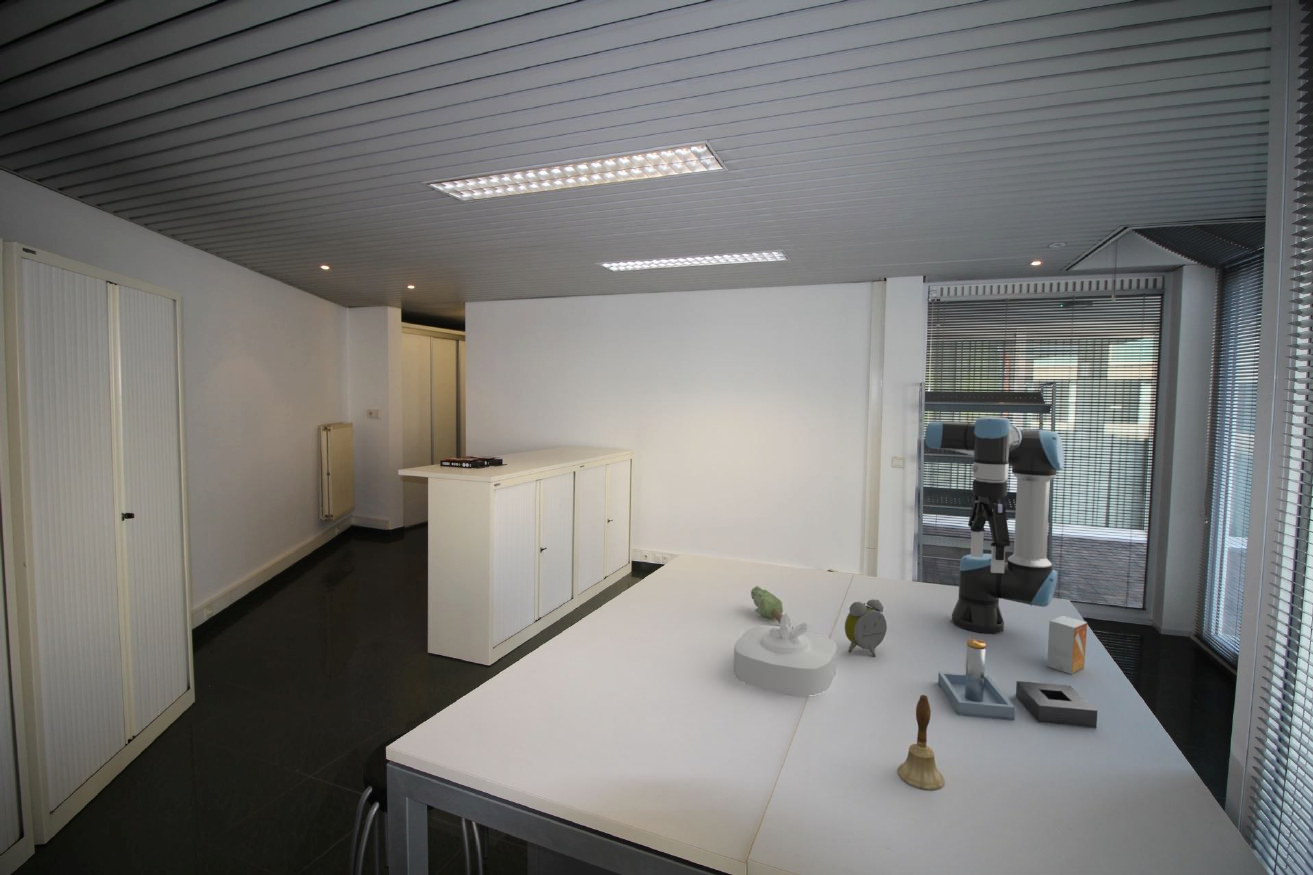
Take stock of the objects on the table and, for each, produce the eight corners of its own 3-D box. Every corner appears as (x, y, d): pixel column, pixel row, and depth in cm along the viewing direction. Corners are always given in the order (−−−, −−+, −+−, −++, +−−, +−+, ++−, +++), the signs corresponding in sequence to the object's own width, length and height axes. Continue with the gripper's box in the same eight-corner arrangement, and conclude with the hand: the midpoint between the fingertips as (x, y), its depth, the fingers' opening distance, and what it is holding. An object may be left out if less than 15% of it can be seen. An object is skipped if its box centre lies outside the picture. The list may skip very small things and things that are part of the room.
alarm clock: (873, 645, 178) (875, 595, 177) (890, 654, 172) (892, 603, 171) (842, 650, 174) (844, 600, 173) (858, 660, 167) (860, 608, 166)
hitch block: (1015, 696, 148) (1016, 680, 148) (1068, 701, 146) (1069, 685, 146) (1038, 722, 136) (1039, 705, 136) (1096, 727, 134) (1097, 710, 134)
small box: (1071, 675, 160) (1074, 627, 159) (1046, 666, 165) (1048, 620, 165) (1085, 667, 165) (1087, 621, 164) (1059, 659, 170) (1062, 614, 169)
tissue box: (840, 663, 166) (842, 607, 165) (822, 704, 143) (824, 638, 142) (754, 645, 177) (755, 592, 176) (724, 680, 155) (725, 619, 154)
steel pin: (979, 694, 147) (982, 639, 146) (985, 702, 143) (988, 645, 143) (962, 693, 148) (964, 638, 147) (967, 701, 144) (970, 644, 143)
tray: (938, 682, 155) (938, 671, 154) (987, 687, 153) (988, 675, 152) (958, 714, 139) (959, 702, 139) (1014, 720, 137) (1015, 707, 137)
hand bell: (889, 764, 119) (893, 687, 118) (929, 762, 120) (933, 685, 119) (911, 791, 111) (914, 708, 110) (953, 789, 112) (957, 707, 111)
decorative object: (806, 628, 189) (770, 588, 212) (791, 610, 185) (755, 572, 208) (786, 646, 188) (751, 605, 212) (770, 629, 185) (737, 589, 208)
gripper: (957, 472, 160) (954, 550, 162) (993, 488, 135) (989, 579, 137) (987, 473, 159) (983, 551, 160) (1029, 488, 134) (1024, 580, 136)
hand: (986, 564), depth 149 cm, fingers open, 13 cm apart
